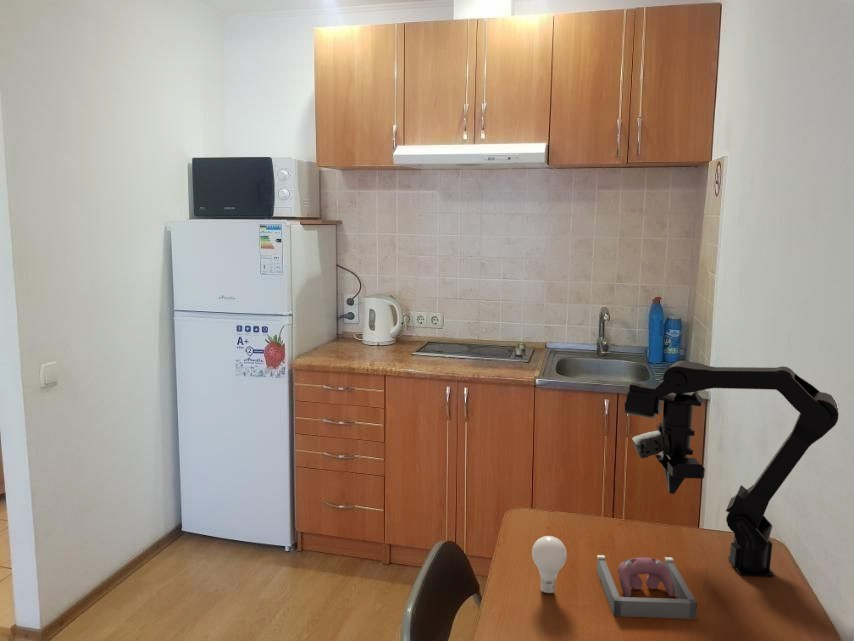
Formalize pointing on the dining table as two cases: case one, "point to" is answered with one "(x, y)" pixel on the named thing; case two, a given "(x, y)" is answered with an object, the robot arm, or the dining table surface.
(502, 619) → the dining table surface
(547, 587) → the lightbulb
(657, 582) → the video game controller
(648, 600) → the pocket
